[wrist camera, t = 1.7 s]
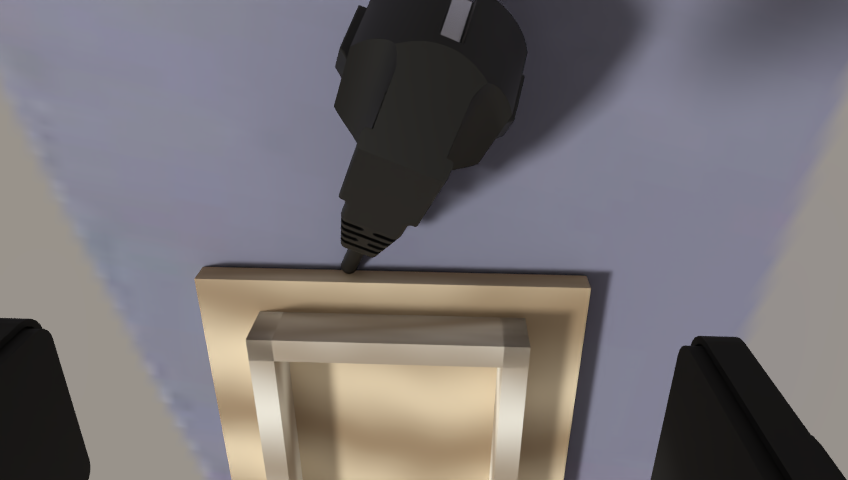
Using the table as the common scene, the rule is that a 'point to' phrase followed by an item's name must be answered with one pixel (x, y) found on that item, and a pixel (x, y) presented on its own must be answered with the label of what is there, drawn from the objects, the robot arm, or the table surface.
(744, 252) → the table surface
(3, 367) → the robot arm
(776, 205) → the table surface
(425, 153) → the power plug
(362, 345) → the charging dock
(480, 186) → the table surface
